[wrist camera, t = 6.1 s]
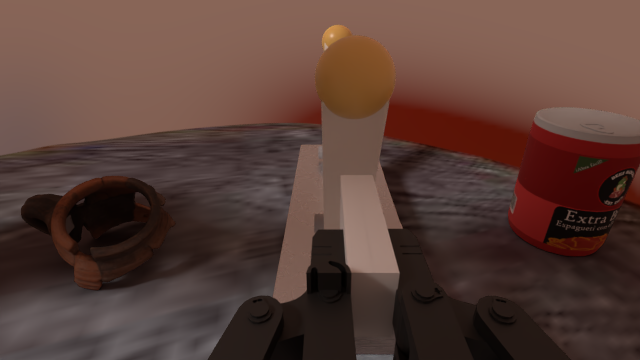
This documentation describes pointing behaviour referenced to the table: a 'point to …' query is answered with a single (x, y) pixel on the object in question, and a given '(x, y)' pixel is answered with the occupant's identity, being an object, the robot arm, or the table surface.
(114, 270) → the pottery mug
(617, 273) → the table surface
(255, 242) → the table surface
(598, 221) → the canned food
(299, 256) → the switch box
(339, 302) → the robot arm
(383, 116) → the toggle
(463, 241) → the table surface
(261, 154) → the table surface
